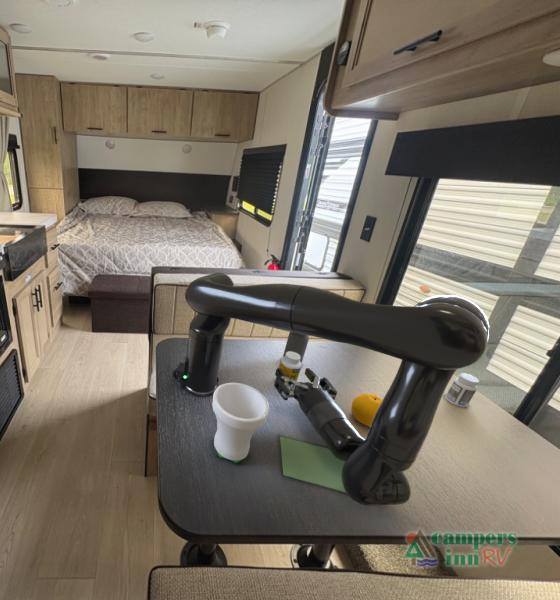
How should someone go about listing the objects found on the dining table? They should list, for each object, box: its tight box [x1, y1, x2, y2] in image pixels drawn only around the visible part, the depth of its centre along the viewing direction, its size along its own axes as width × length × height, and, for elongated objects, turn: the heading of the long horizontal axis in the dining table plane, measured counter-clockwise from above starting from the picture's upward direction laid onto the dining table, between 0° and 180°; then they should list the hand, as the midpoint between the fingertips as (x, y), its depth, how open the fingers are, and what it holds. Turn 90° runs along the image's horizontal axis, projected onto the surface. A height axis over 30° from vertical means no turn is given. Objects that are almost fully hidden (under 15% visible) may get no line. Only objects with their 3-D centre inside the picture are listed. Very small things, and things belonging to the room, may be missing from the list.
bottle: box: [282, 332, 310, 364], centre depth 96 cm, size 6×6×15 cm
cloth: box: [279, 436, 347, 494], centre depth 64 cm, size 18×10×1 cm, turn 74°
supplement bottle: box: [275, 351, 302, 390], centre depth 87 cm, size 6×6×10 cm
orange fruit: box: [351, 393, 384, 428], centre depth 76 cm, size 8×8×8 cm
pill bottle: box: [445, 372, 480, 408], centre depth 84 cm, size 5×5×8 cm
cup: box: [212, 382, 270, 464], centre depth 64 cm, size 11×11×14 cm
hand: (291, 370), depth 85 cm, fingers open, 8 cm apart
